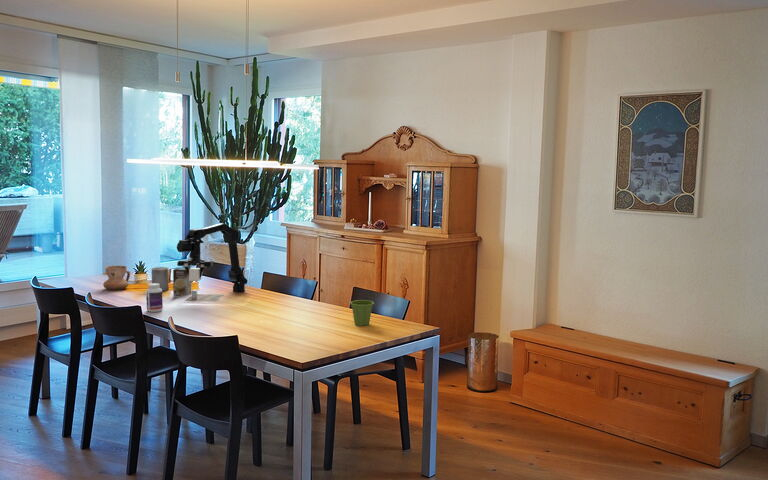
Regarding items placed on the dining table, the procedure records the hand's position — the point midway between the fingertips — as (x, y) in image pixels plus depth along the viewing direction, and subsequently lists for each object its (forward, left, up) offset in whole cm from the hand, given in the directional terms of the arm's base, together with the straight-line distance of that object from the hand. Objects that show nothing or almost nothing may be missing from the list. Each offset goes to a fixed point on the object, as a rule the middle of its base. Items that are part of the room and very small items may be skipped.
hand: (195, 278), depth 379 cm
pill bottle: (+14, +27, -13) cm, 34 cm away
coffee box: (+11, -15, -13) cm, 23 cm away
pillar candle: (+29, -31, -13) cm, 45 cm away
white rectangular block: (0, 0, -1) cm, 1 cm away
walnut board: (-5, -4, -13) cm, 14 cm away
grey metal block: (0, 0, -12) cm, 12 cm away
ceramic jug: (+56, -33, -13) cm, 67 cm away
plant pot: (-96, +52, -13) cm, 110 cm away
